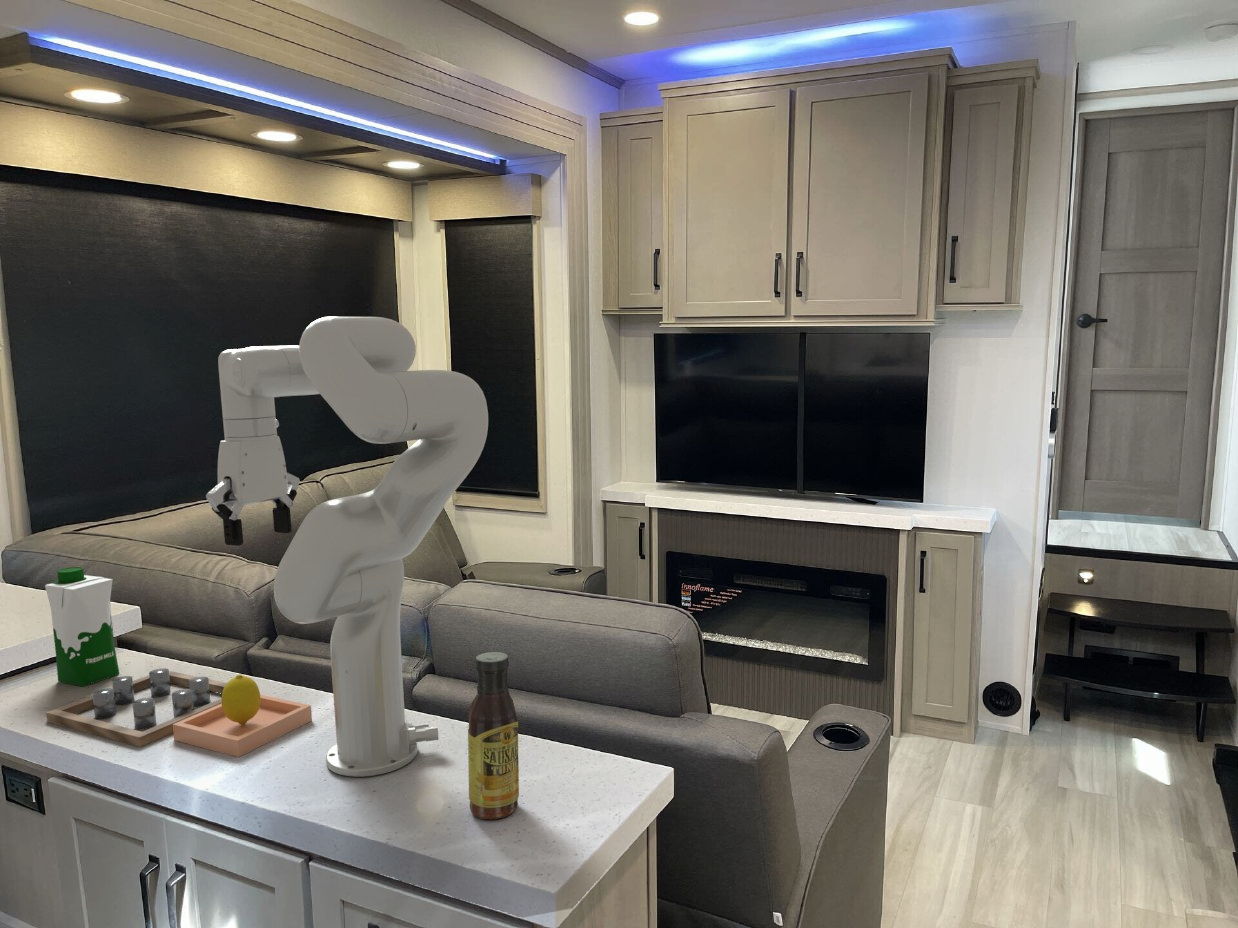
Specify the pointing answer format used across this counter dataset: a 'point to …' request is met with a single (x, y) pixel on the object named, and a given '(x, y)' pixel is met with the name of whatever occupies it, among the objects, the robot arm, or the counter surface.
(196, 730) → the dish
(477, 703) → the sauce bottle
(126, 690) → the posts
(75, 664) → the milk carton
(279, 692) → the counter surface
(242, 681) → the lemon
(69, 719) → the frame
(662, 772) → the counter surface
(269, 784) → the counter surface
